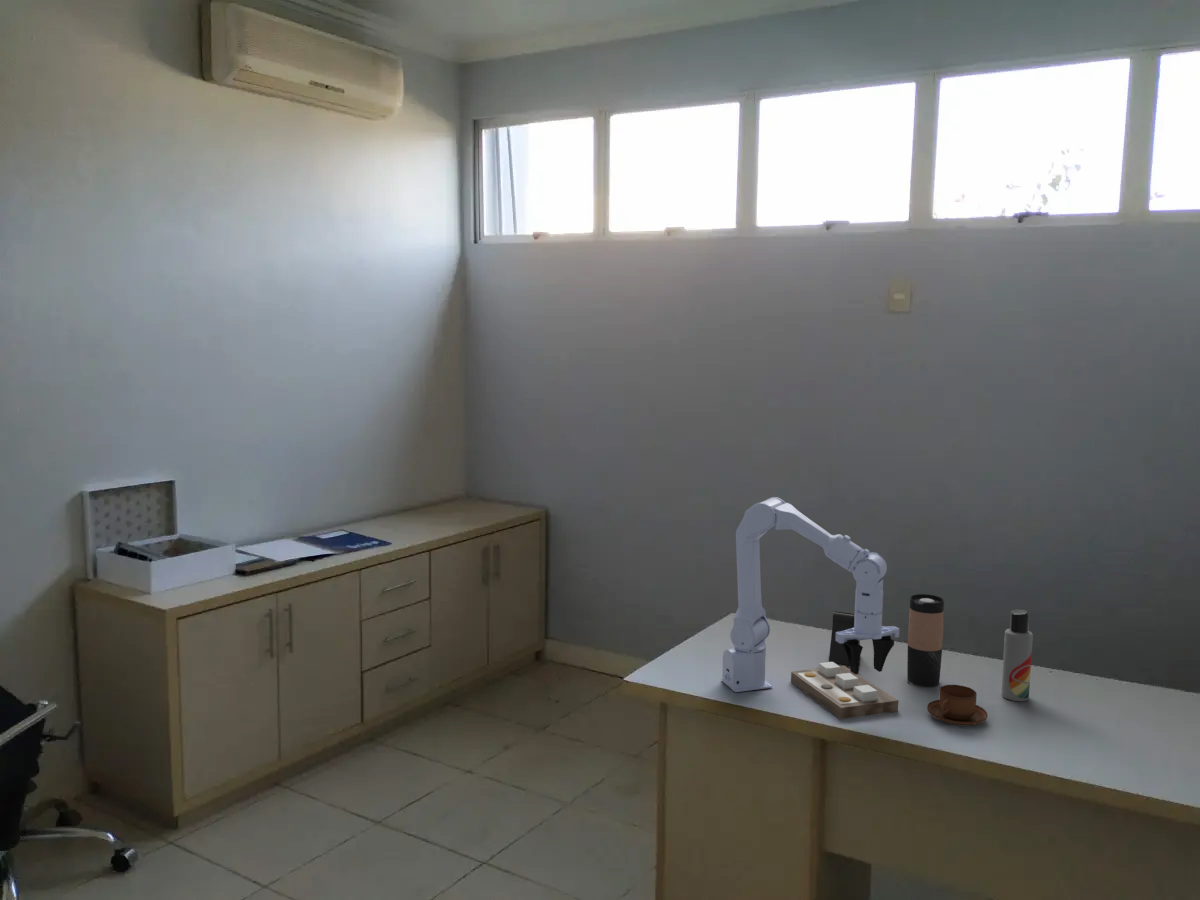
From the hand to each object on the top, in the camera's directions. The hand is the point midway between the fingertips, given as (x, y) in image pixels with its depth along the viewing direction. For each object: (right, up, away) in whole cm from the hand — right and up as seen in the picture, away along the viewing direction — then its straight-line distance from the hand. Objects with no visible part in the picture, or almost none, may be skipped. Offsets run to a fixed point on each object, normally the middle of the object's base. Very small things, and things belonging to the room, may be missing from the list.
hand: (866, 671), depth 203 cm
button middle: (-2, -6, +8) cm, 10 cm away
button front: (0, -7, +1) cm, 7 cm away
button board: (-3, -7, +8) cm, 11 cm away
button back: (-4, -5, +15) cm, 17 cm away
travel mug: (+18, -7, +17) cm, 26 cm away
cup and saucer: (+18, -9, -4) cm, 21 cm away
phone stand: (+3, -5, +31) cm, 32 cm away
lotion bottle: (+36, -8, +8) cm, 37 cm away
